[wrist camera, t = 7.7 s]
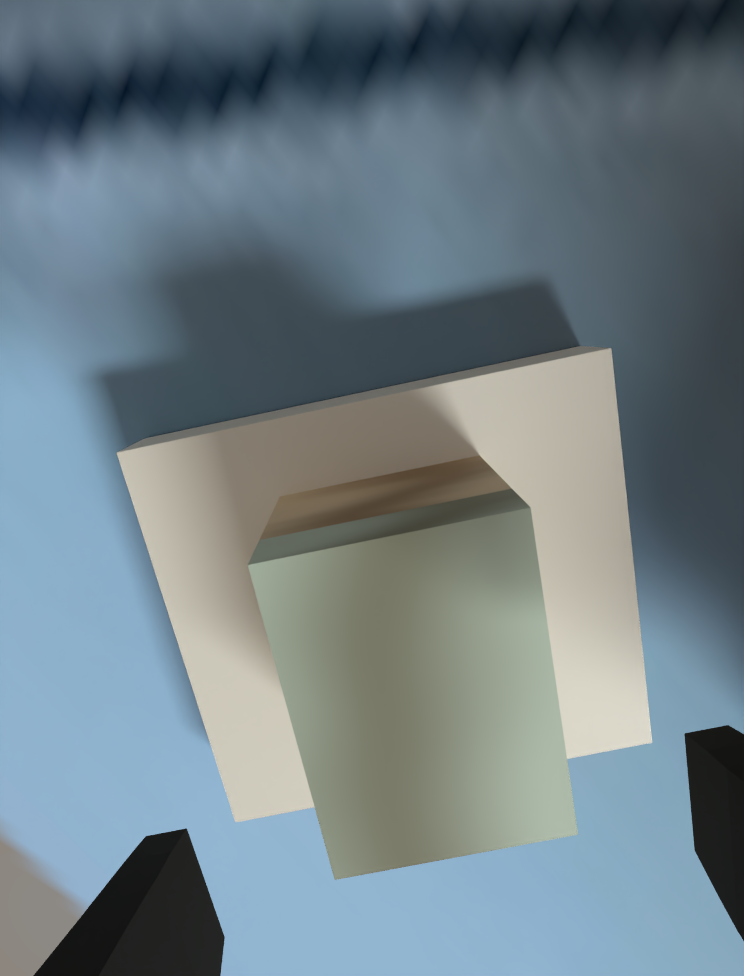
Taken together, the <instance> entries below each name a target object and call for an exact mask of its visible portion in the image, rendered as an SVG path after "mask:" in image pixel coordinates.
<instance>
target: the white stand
mask: <svg viewBox="0 0 744 976" xmlns="http://www.w3.org/2000/svg"><path fill="white" fill-rule="evenodd" d="M479 455H480V456H481V457H482V458H483V459H484V460H485V461H486V462H487V463H488V465H489V466H490V467H491V468H492V469H493V470H494V471H495V472H496V473H497V474H498V475H499V476H500V477H501V478H502V479H503V480H504V481H505V482H506V483H507V484H508V485H509V486H510V487H511V488H512V489H513V490H514V491H515V492H516V493H517V494H518V495H519V496H520V497H521V498H522V499H523V500H524V501H525V502H526V503H527V504H528V505H529V507H530V508H531V514H532V521H533V528H534V534H535V541H536V548H537V555H538V562H539V569H540V576H541V583H542V590H543V597H544V603H545V610H546V617H547V624H548V631H549V638H550V645H551V652H552V659H553V666H554V672H555V679H556V686H557V693H558V700H559V707H560V714H561V721H562V728H563V735H564V741H565V748H566V755H567V759H569V758H574V757H579V756H585V755H590V754H595V753H600V752H605V751H611V750H616V749H621V748H626V747H632V746H637V745H642V744H647V743H652V736H651V727H650V717H649V707H648V698H647V688H646V678H645V669H644V659H643V649H642V640H641V630H640V620H639V611H638V601H637V591H636V582H635V572H634V562H633V553H632V543H631V534H630V524H629V514H628V505H627V495H626V485H625V476H624V466H623V456H622V447H621V437H620V427H619V418H618V408H617V398H616V389H615V379H614V369H613V360H612V350H611V348H603V347H589V346H578V347H573V348H569V349H564V350H559V351H555V352H550V353H545V354H540V355H536V356H531V357H526V358H522V359H517V360H512V361H507V362H503V363H498V364H493V365H488V366H484V367H479V368H474V369H470V370H465V371H460V372H455V373H451V374H446V375H441V376H437V377H432V378H427V379H422V380H418V381H413V382H408V383H404V384H399V385H394V386H389V387H385V388H380V389H375V390H370V391H366V392H361V393H356V394H352V395H347V396H342V397H337V398H333V399H328V400H323V401H319V402H314V403H309V404H304V405H300V406H295V407H290V408H285V409H281V410H276V411H271V412H267V413H262V414H257V415H252V416H248V417H243V418H238V419H234V420H229V421H224V422H219V423H215V424H210V425H205V426H200V427H196V428H191V429H186V430H182V431H177V432H172V433H167V434H163V435H158V436H153V437H149V438H144V439H142V440H140V441H139V442H137V443H135V444H133V445H131V446H129V447H127V448H125V449H123V450H121V451H119V452H117V456H118V459H119V462H120V465H121V468H122V471H123V474H124V477H125V481H126V484H127V487H128V490H129V493H130V496H131V499H132V502H133V505H134V508H135V512H136V515H137V518H138V521H139V524H140V527H141V530H142V533H143V536H144V539H145V543H146V546H147V549H148V552H149V555H150V558H151V561H152V564H153V567H154V571H155V574H156V577H157V580H158V583H159V586H160V589H161V592H162V595H163V598H164V602H165V605H166V608H167V611H168V614H169V617H170V620H171V623H172V626H173V630H174V633H175V636H176V639H177V642H178V645H179V648H180V651H181V654H182V657H183V661H184V664H185V667H186V670H187V673H188V676H189V679H190V682H191V685H192V689H193V692H194V695H195V698H196V701H197V704H198V707H199V710H200V713H201V716H202V720H203V723H204V726H205V729H206V732H207V735H208V738H209V741H210V744H211V747H212V751H213V754H214V757H215V760H216V763H217V766H218V769H219V772H220V775H221V779H222V782H223V785H224V788H225V791H226V794H227V797H228V800H229V803H230V806H231V810H232V813H233V816H234V819H235V822H240V821H245V820H250V819H256V818H261V817H266V816H271V815H276V814H282V813H287V812H292V811H297V810H303V809H308V808H313V807H315V806H314V803H313V799H312V796H311V792H310V788H309V785H308V781H307V778H306V774H305V770H304V767H303V763H302V760H301V756H300V752H299V749H298V745H297V742H296V738H295V734H294V731H293V727H292V723H291V720H290V716H289V713H288V709H287V705H286V702H285V698H284V695H283V691H282V687H281V684H280V680H279V677H278V673H277V669H276V666H275V662H274V659H273V655H272V651H271V648H270V644H269V641H268V637H267V633H266V630H265V626H264V623H263V619H262V615H261V612H260V608H259V604H258V601H257V597H256V594H255V590H254V586H253V583H252V579H251V576H250V572H249V568H248V563H249V561H250V559H251V557H252V555H253V552H254V550H255V548H256V546H257V544H258V542H259V540H260V538H261V535H262V533H263V531H264V529H265V527H266V525H267V523H268V521H269V518H270V516H271V514H272V512H273V510H274V508H275V506H276V503H277V501H278V499H279V497H280V496H285V495H290V494H294V493H299V492H304V491H309V490H314V489H319V488H324V487H328V486H333V485H338V484H343V483H348V482H353V481H358V480H362V479H367V478H372V477H377V476H382V475H387V474H392V473H396V472H401V471H406V470H411V469H416V468H421V467H426V466H430V465H435V464H440V463H445V462H450V461H455V460H460V459H464V458H469V457H474V456H479Z"/></svg>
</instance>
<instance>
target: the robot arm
mask: <svg viewBox="0 0 744 976" xmlns="http://www.w3.org/2000/svg"><path fill="white" fill-rule="evenodd" d="M685 744H686V756H687V767H688V778H689V790H690V801H691V813H692V824H693V836H694V847H695V852H696V854H697V856H698V858H699V859H700V861H701V863H702V865H703V867H704V869H705V871H706V873H707V875H708V877H709V879H710V881H711V883H712V884H713V886H714V888H715V890H716V892H717V894H718V896H719V898H720V900H721V901H722V903H723V905H724V907H725V909H726V911H727V912H728V914H729V916H730V918H731V920H732V922H733V923H734V925H735V927H736V929H737V931H738V932H739V934H740V935H741V937H742V939H743V940H744V734H742V733H741V732H739V731H737V730H735V729H734V728H732V727H730V726H728V725H727V726H722V727H716V728H711V729H706V730H701V731H695V732H690V733H685ZM223 946H224V934H223V932H222V929H221V926H220V923H219V920H218V917H217V914H216V911H215V909H214V906H213V903H212V900H211V897H210V894H209V891H208V888H207V886H206V883H205V880H204V877H203V874H202V871H201V868H200V865H199V863H198V860H197V857H196V854H195V851H194V848H193V845H192V842H191V840H190V837H189V834H188V831H187V829H182V830H177V831H171V832H166V833H161V834H156V835H150V836H146V837H145V838H144V839H143V840H142V842H141V843H140V844H139V845H138V846H137V848H136V849H135V850H134V851H133V852H132V854H131V855H130V856H129V857H128V858H127V860H126V861H125V862H124V863H123V865H122V866H121V867H120V868H119V870H118V871H117V872H116V873H115V875H114V876H113V877H112V878H111V880H110V881H109V882H108V883H107V885H106V886H105V887H104V889H103V890H102V891H101V892H100V894H99V895H98V896H97V897H96V899H95V900H94V901H93V902H92V904H91V905H90V906H89V907H88V909H87V910H86V911H85V913H84V914H83V915H82V916H81V918H80V919H79V920H78V921H77V923H76V924H75V925H74V926H73V928H72V929H71V930H70V931H69V933H68V934H67V935H66V936H65V938H64V939H63V940H62V941H61V942H60V944H59V945H58V946H57V947H56V949H55V950H54V951H53V952H52V954H51V955H50V956H49V957H48V959H47V960H46V961H45V962H44V964H43V965H42V966H41V967H40V968H39V970H38V971H37V972H36V973H35V975H34V976H220V973H221V964H222V955H223Z"/></svg>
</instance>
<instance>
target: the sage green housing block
mask: <svg viewBox="0 0 744 976" xmlns="http://www.w3.org/2000/svg"><path fill="white" fill-rule="evenodd" d="M248 568H249V572H250V576H251V579H252V583H253V586H254V590H255V594H256V597H257V601H258V604H259V608H260V612H261V615H262V619H263V623H264V626H265V630H266V633H267V637H268V641H269V644H270V648H271V651H272V655H273V659H274V662H275V666H276V669H277V673H278V677H279V680H280V684H281V687H282V691H283V695H284V698H285V702H286V705H287V709H288V713H289V716H290V720H291V723H292V727H293V731H294V734H295V738H296V742H297V745H298V749H299V752H300V756H301V760H302V763H303V767H304V770H305V774H306V778H307V781H308V785H309V788H310V792H311V796H312V799H313V803H314V806H315V810H316V814H317V817H318V821H319V824H320V828H321V832H322V835H323V839H324V843H325V846H326V850H327V853H328V857H329V861H330V864H331V868H332V871H333V875H334V879H335V880H337V879H342V878H347V877H353V876H358V875H363V874H369V873H374V872H379V871H385V870H390V869H396V868H401V867H406V866H412V865H417V864H422V863H428V862H433V861H439V860H444V859H449V858H455V857H460V856H465V855H471V854H476V853H481V852H487V851H492V850H498V849H503V848H508V847H514V846H519V845H524V844H530V843H535V842H540V841H546V840H551V839H557V838H562V837H567V836H573V835H578V831H577V824H576V817H575V811H574V804H573V797H572V790H571V783H570V776H569V769H568V762H567V755H566V748H565V741H564V735H563V728H562V721H561V714H560V707H559V700H558V693H557V686H556V679H555V672H554V666H553V659H552V652H551V645H550V638H549V631H548V624H547V617H546V610H545V603H544V597H543V590H542V583H541V576H540V569H539V562H538V555H537V548H536V541H535V534H534V528H533V521H532V514H531V508H530V507H529V505H528V504H527V503H526V502H525V501H524V500H523V499H522V498H521V497H520V496H519V495H518V494H517V493H516V492H515V491H514V490H513V489H512V488H511V487H510V486H509V485H508V484H507V483H506V482H505V481H504V480H503V479H502V478H501V477H500V476H499V475H498V474H497V473H496V472H495V471H494V470H493V469H492V468H491V467H490V466H489V465H488V463H487V462H486V461H485V460H484V459H483V458H482V457H481V456H480V455H479V456H474V457H469V458H464V459H460V460H455V461H450V462H445V463H440V464H435V465H430V466H426V467H421V468H416V469H411V470H406V471H401V472H396V473H392V474H387V475H382V476H377V477H372V478H367V479H362V480H358V481H353V482H348V483H343V484H338V485H333V486H328V487H324V488H319V489H314V490H309V491H304V492H299V493H294V494H290V495H285V496H280V497H279V499H278V501H277V503H276V506H275V508H274V510H273V512H272V514H271V516H270V518H269V521H268V523H267V525H266V527H265V529H264V531H263V533H262V535H261V538H260V540H259V542H258V544H257V546H256V548H255V550H254V552H253V555H252V557H251V559H250V561H249V563H248Z"/></svg>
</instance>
